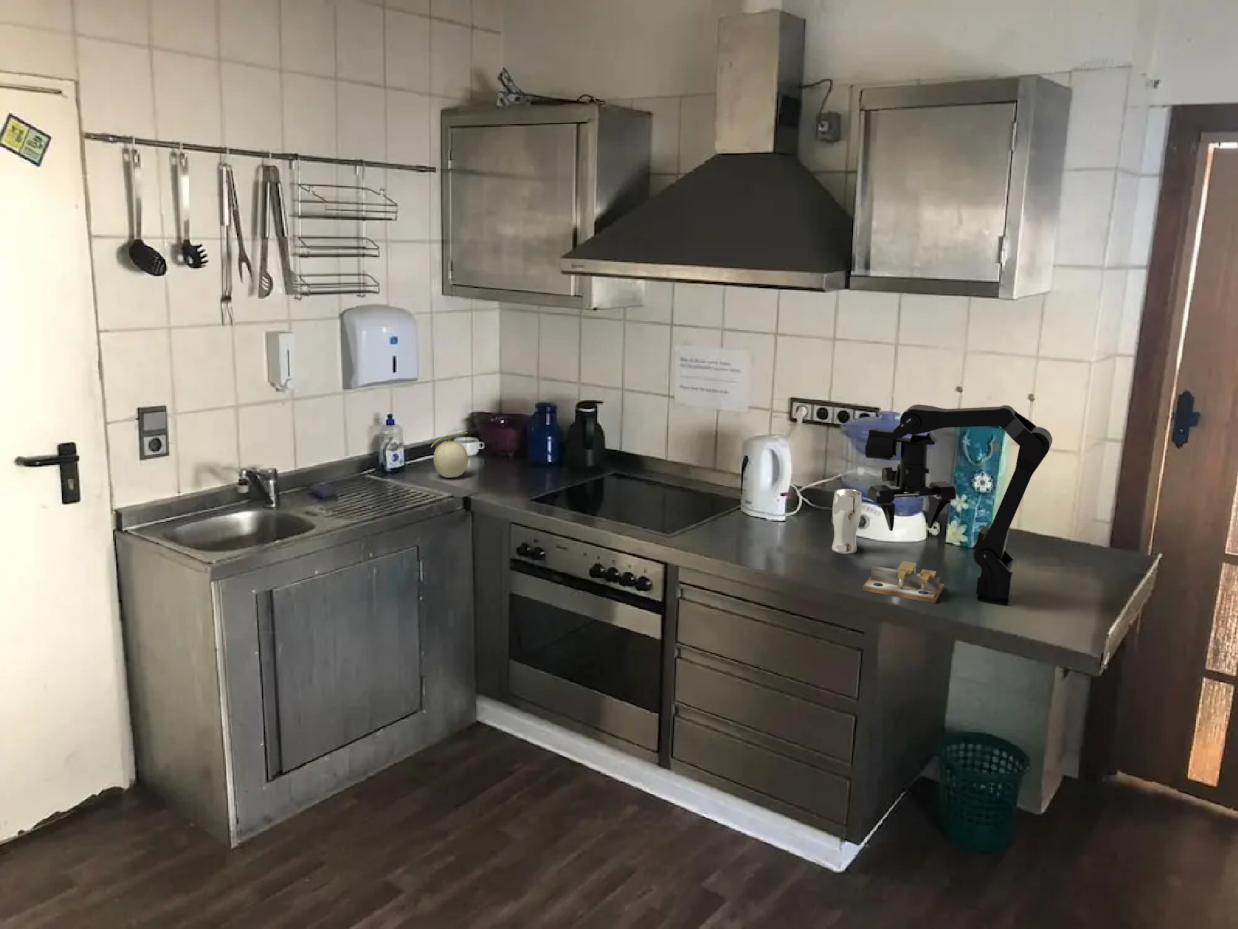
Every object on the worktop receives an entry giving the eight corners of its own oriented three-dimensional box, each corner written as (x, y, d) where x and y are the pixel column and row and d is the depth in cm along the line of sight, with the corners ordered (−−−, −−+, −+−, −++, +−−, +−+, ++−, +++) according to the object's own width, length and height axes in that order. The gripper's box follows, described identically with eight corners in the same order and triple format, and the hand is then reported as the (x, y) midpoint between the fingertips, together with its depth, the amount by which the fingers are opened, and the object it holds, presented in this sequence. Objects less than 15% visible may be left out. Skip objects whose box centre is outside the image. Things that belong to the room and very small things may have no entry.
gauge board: (943, 588, 233) (945, 568, 232) (935, 603, 224) (937, 582, 223) (873, 576, 240) (874, 556, 239) (862, 590, 231) (863, 570, 230)
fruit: (427, 474, 323) (425, 428, 319) (463, 471, 327) (462, 425, 324) (435, 483, 314) (433, 435, 310) (472, 479, 318) (471, 432, 314)
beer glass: (833, 543, 262) (836, 487, 258) (860, 547, 259) (864, 490, 256) (827, 552, 256) (831, 494, 252) (855, 556, 253) (859, 497, 249)
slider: (914, 578, 235) (916, 563, 234) (906, 590, 228) (908, 575, 227) (901, 576, 236) (902, 560, 236) (893, 588, 229) (894, 572, 228)
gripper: (937, 451, 237) (933, 516, 241) (859, 456, 235) (857, 521, 239) (959, 462, 227) (955, 530, 230) (878, 467, 224) (876, 536, 228)
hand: (910, 529), depth 232 cm, fingers open, 9 cm apart
